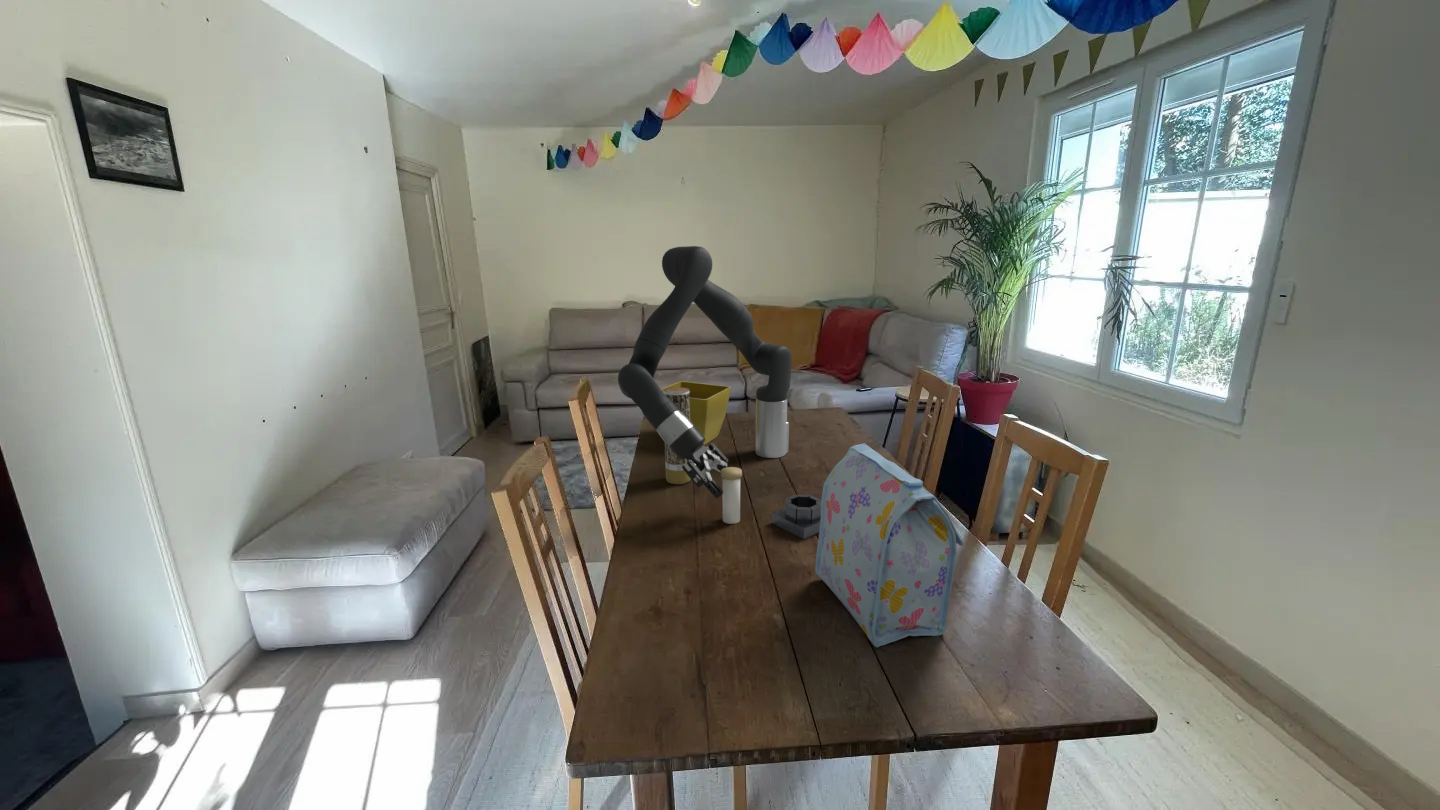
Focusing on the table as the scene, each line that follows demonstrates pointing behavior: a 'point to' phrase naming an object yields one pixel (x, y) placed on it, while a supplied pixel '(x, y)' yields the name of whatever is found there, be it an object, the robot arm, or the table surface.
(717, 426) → the flower pot
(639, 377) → the robot arm
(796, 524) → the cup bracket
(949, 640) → the table surface
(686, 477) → the paper tube
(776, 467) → the table surface
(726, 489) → the white beige cylinder
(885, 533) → the lunch bag
